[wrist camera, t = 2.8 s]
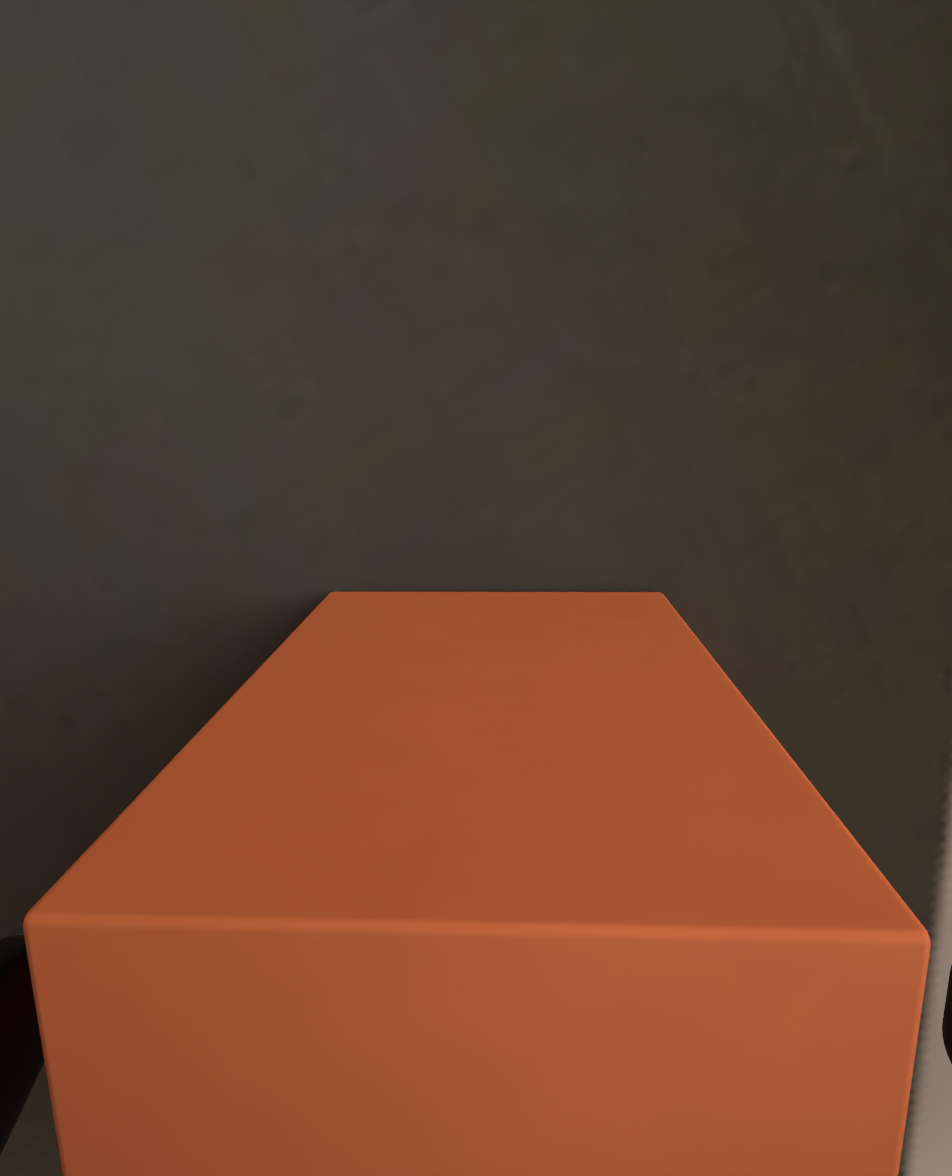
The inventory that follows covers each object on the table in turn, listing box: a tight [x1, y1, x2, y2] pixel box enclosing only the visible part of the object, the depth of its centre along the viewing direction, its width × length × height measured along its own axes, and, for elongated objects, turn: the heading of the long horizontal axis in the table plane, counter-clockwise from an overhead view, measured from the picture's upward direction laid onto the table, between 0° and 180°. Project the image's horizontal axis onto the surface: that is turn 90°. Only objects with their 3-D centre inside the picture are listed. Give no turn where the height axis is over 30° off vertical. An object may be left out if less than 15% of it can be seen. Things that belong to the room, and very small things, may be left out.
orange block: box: [23, 592, 931, 1176], centre depth 8 cm, size 6×4×7 cm
